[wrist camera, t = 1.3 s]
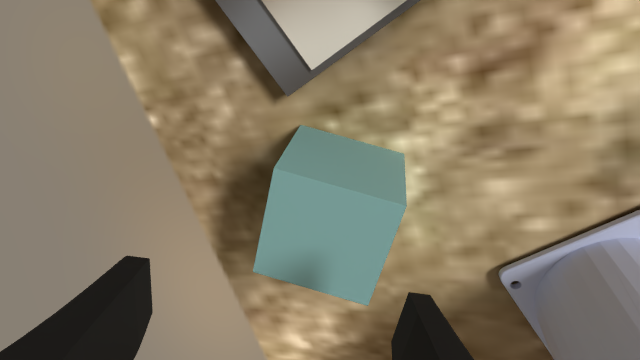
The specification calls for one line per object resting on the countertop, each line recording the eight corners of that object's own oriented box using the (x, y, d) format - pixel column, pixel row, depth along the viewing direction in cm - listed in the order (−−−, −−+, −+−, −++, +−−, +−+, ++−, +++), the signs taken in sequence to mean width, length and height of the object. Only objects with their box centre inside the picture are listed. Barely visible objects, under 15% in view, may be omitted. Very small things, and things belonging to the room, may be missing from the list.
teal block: (404, 153, 20) (406, 206, 15) (373, 238, 22) (367, 306, 18) (301, 124, 20) (273, 168, 15) (281, 211, 22) (252, 271, 18)
